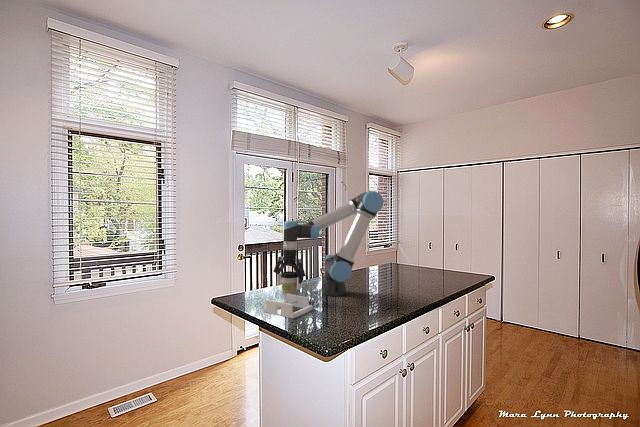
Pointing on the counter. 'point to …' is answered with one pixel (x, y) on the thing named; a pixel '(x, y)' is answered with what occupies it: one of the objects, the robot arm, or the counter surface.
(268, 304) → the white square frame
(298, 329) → the counter surface
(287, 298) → the pusher
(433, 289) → the counter surface
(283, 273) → the coffee cup
